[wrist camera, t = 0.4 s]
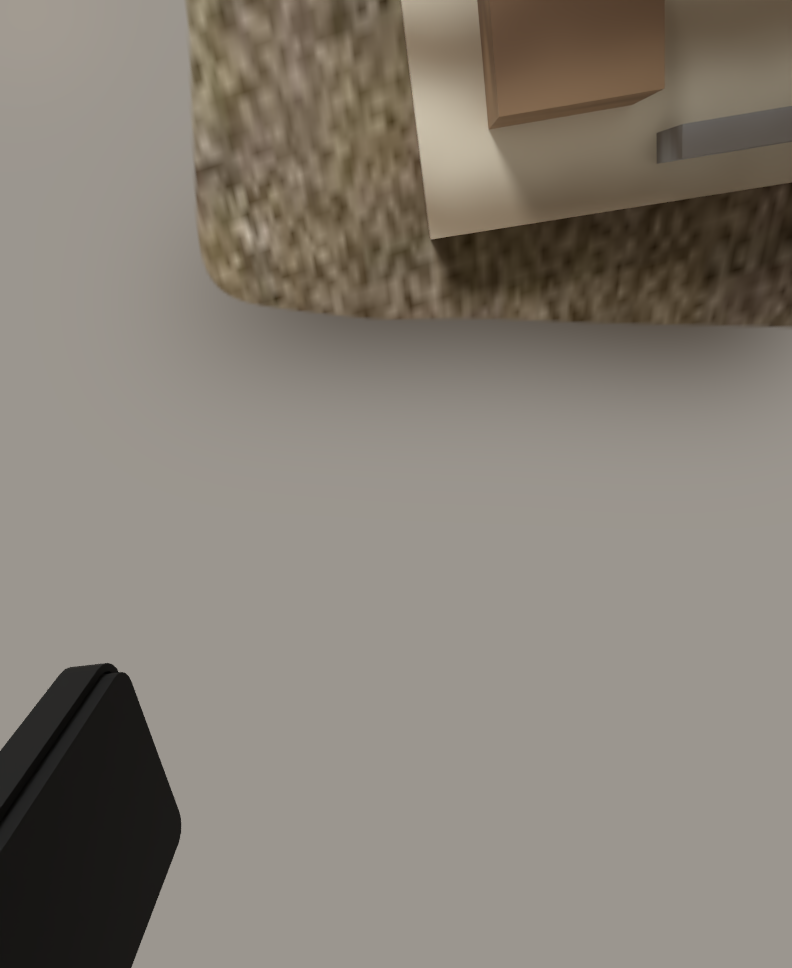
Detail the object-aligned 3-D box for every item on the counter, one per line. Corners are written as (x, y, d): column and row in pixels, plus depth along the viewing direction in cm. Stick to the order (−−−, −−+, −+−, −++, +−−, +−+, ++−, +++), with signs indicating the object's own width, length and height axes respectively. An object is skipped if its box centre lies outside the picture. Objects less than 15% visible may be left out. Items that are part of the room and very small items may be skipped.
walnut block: (473, -41, 26) (482, -82, 23) (629, -71, 26) (664, -119, 22) (488, 129, 28) (498, 117, 25) (631, 105, 28) (664, 88, 24)
